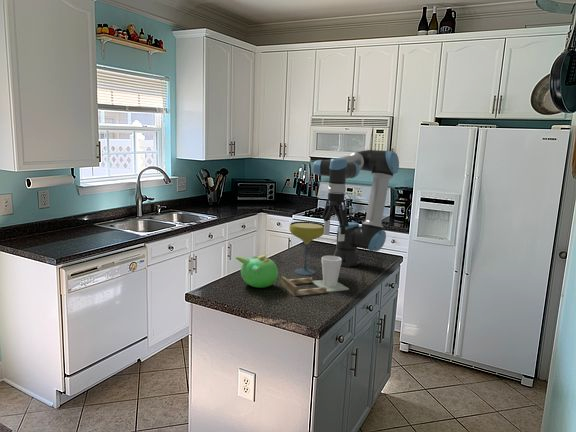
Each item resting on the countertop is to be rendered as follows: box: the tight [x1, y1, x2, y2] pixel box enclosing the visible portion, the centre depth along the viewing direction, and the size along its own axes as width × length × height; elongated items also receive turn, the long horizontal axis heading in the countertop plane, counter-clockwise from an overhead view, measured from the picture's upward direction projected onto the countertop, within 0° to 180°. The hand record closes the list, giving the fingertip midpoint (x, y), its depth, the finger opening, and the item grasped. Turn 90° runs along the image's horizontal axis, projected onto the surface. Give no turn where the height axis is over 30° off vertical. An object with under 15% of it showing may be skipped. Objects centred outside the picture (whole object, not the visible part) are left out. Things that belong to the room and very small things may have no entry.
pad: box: [312, 279, 350, 293], centre depth 210 cm, size 12×15×1 cm
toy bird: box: [235, 254, 279, 289], centre depth 202 cm, size 18×17×15 cm
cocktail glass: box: [289, 221, 324, 276], centre depth 227 cm, size 18×18×25 cm
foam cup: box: [321, 255, 342, 287], centre depth 208 cm, size 10×9×13 cm
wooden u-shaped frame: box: [280, 275, 328, 297], centre depth 204 cm, size 16×15×4 cm
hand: (333, 237), depth 207 cm, fingers open, 13 cm apart
